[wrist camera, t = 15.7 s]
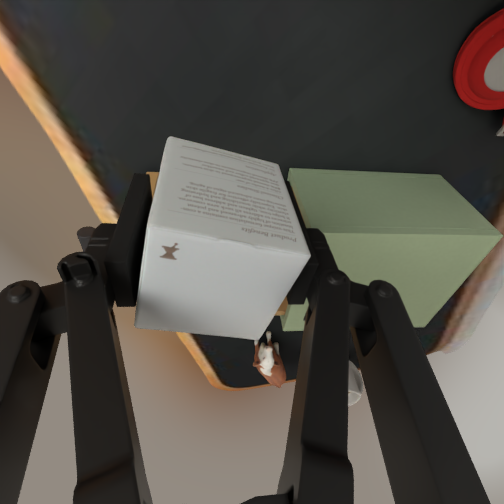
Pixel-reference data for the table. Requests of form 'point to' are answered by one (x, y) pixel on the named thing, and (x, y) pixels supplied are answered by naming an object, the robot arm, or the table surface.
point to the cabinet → (393, 234)
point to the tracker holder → (482, 66)
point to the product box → (217, 244)
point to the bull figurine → (269, 362)
